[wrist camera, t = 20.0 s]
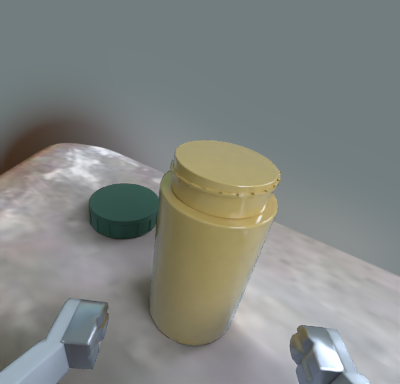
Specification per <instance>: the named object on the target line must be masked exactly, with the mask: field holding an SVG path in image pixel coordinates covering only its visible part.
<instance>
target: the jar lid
mask: <svg viewBox="0 0 400 384" xmlns="http://www.w3.org/2000/svg"><path fill="white" fill-rule="evenodd" d="M158 202H159V199H158V197H157V195H156V194H155V193H154V192H153V191H152V190H150V189H148V188H146V187H143V186H140V185H136V184H125V183H124V184H113V185H109V186H106V187H103V188H101V189H99V190H97V191H96V192H95V193H94V194H93V195H92V196H91V198H90V200H89V214H90V224H92V226H93V228H94V229H95V230H96V231H97V232H99V233H101V234H102V235H105V236H107V237H111V238H118V239H128V238H134V237H138V236H141V235H144V234H146V233H147V232H149V231H151V230H152V229H153V228H154V226H155V225H156V223H157V212H158Z"/></svg>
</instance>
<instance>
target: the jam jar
mask: <svg viewBox="0 0 400 384" xmlns="http://www.w3.org/2000/svg"><path fill="white" fill-rule="evenodd" d="M170 169H171V170H170V171H168V172H167V173H166V174H165V175H164V176H163V178H162V180H161V183H160V191H159V202H158V212H157V223H156V233H155V244H154V254H153V265H152V275H151V286H150V296H149V308H150V313H151V316H152V318H153V320H154V322H155V324H156V325H157V327H158V328H159V329H160V330H161V331H162V332H163V333H164V334H165V335H166V336H167V337H169V338H171V339H172V340H174V341H176V342H179V343H182V344H186V345H196V346H197V345H204V344H208V343H211V342H213V341H215V340H217V339H219V338H220V337H221V336H222V335H224V334H225V332H226V331H227V330H228V328H229V327H230V325H231V323H232V320H233V318H234V316H235V313H236V311H237V308H238V306H239V303H240V301H241V299H242V296H243V294H244V291H245V289H246V286H247V284H248V282H249V279H250V277H251V274H252V272H253V269H254V267H255V265H256V262H257V260H258V257H259V255H260V252H261V250H262V248H263V245H264V243H265V240H266V238H267V235H268V233H269V231H270V228H271V226H272V223H273V221H274V218H275V216H276V214H277V210H278V204H277V200H276V198H275V196H274V195H273V191H274V190H275V188H276V187H277V186H278V184H279V182H280V172H279V170H278V169H277V167H276V166H275V165H274V164H273V162H271V161H270V160H269V159H267V158H266V157H265V156H263V155H261V154H259V153H257V152H255V151H253V150H251V149H248V148H245V147H242V146H239V145H235V144H231V143H226V142H221V141H211V140H198V141H190V142H186V143H184V144H181V145H180V146H178V147H177V149H176V150H175V154H174V160H172V162H171V166H170Z"/></svg>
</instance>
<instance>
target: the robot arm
mask: <svg viewBox="0 0 400 384" xmlns="http://www.w3.org/2000/svg"><path fill="white" fill-rule="evenodd" d="M107 310H108V303H107V302H98V301H90V300H83V299H74V298H69V299H68V300H67V301H66V302H65V304H64V305H63V307H62V309H61V311H60V313H59V314H58V316H57V318H56V320H55V322H54V324H53V325H52V327H51V329H50V331H49V333H48V335H47V336H46V338H45V340H44V341H39V342H38V343H36V344H35V345H34V346H32V347H31V348H30V349H29V350H27V351H26V352H25V353H23V354H22V355H21V356H20V357H18V358H17V359H16V360H15V361H13V362H12V363H11V364H9V365H8V366H7V367H6V368H4V369H3V370H2V371H0V384H57V383H58V381H59V380H60V379H61V378H62V377H63V376H64V375H65V374H66V373H67V372H68V371H69V370H70V369H69V368H77V369H92V370H93V367H94V364H95V362H96V359H97V356H98V353H99V342H100V341H101V340H102V339H104V336H105V333H106V329H107V325H108V319H109V314H108V313H107ZM297 332H298V333H296V334H294V335H293V336H292V337H291V339H290V352H291V356H292V359H293V360H294V361H295V363H296V364H297V368H296V374H297V377H298V381H299V384H371V383H370V382H369V381H368V380H367V379H366V378H365V377H364V376H363V375H362V374H358V372H357V369H356V367H355V365H354V363H353V361H352V359H351V357H350V355H349V353H348V351H347V348H346V346H345V344H344V342H343V340H342V338H341V336H340V334H339V332H338V331H337V330H336V329H332V328H323V327H315V326H305V325H301V326H299V327H298V328H297Z"/></svg>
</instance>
